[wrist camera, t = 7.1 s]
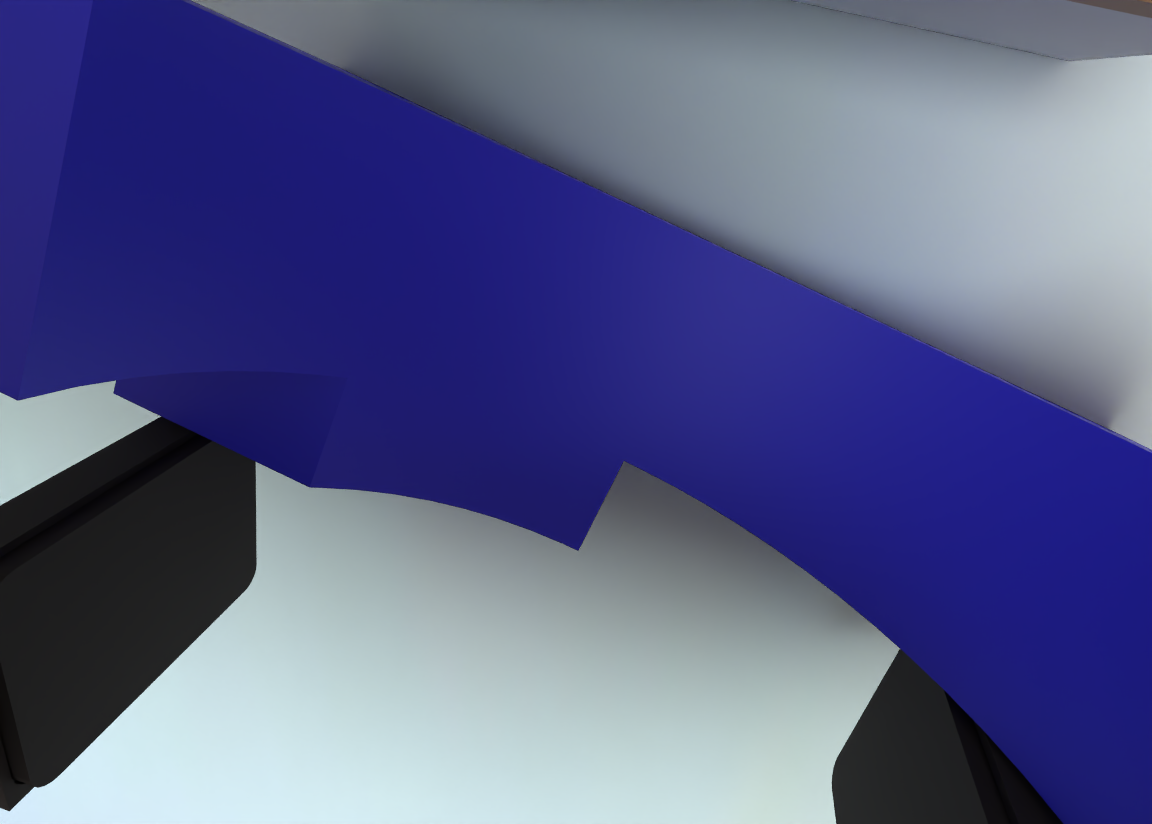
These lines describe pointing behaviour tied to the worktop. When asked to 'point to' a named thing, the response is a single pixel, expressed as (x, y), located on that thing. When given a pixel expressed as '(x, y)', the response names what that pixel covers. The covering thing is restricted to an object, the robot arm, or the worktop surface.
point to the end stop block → (1024, 23)
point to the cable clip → (552, 362)
